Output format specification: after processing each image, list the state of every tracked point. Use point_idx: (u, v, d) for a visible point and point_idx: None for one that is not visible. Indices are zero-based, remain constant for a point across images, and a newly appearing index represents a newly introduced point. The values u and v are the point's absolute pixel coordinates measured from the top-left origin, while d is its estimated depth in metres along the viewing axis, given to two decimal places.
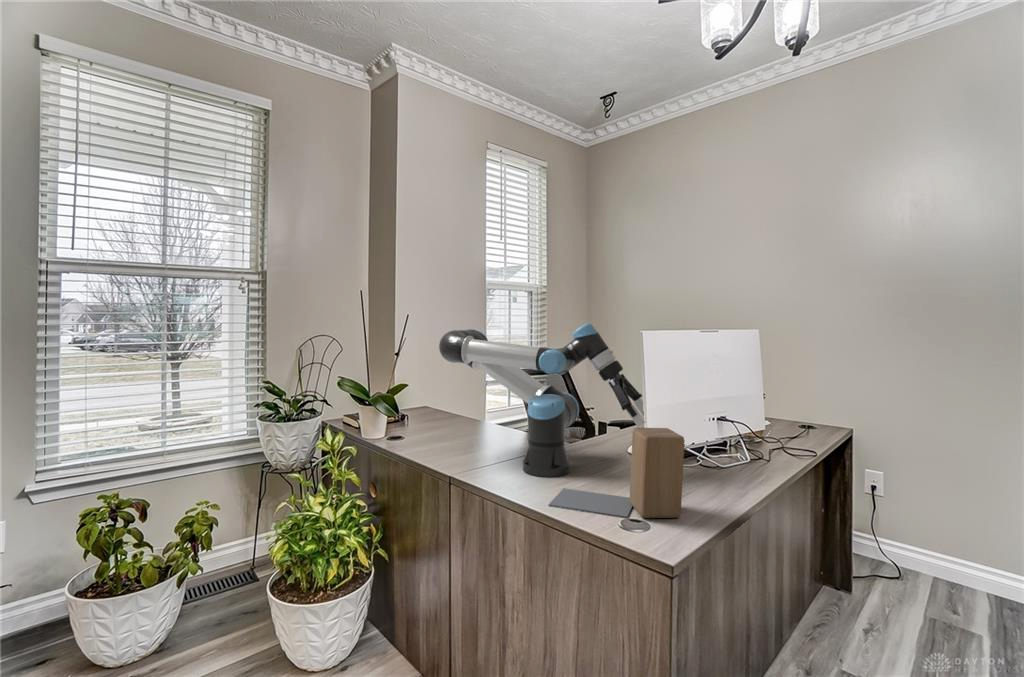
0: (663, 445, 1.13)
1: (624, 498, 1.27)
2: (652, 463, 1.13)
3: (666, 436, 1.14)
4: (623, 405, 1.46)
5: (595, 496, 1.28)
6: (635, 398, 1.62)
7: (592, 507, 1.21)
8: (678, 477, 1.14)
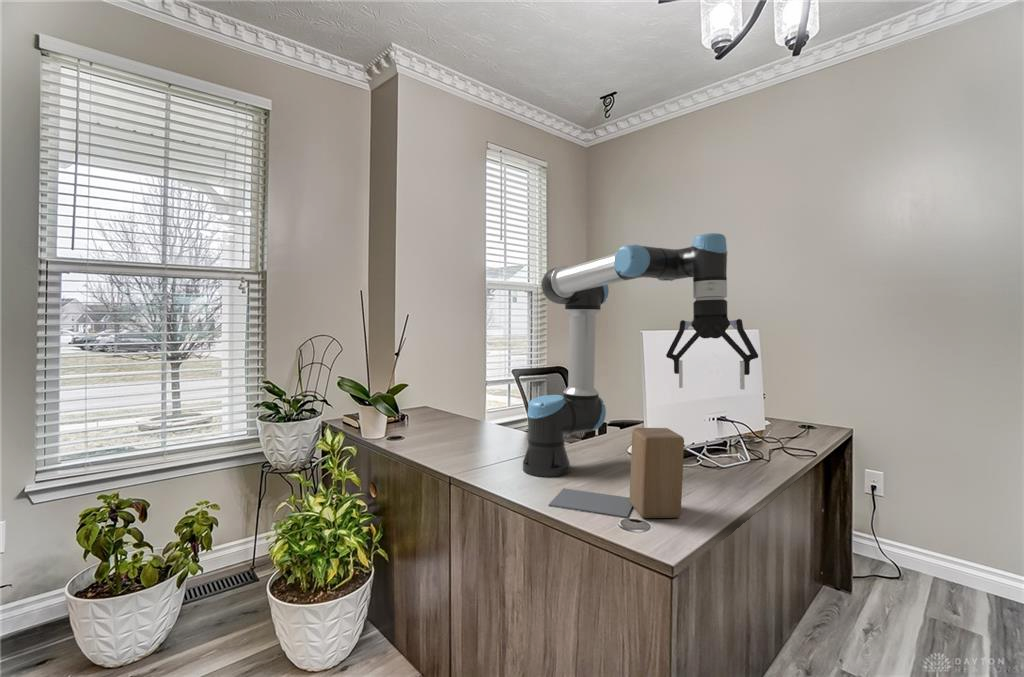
0: (663, 445, 1.13)
1: (624, 498, 1.27)
2: (652, 464, 1.13)
3: (666, 436, 1.14)
4: None
5: (595, 496, 1.28)
6: None
7: (592, 507, 1.21)
8: (678, 477, 1.14)
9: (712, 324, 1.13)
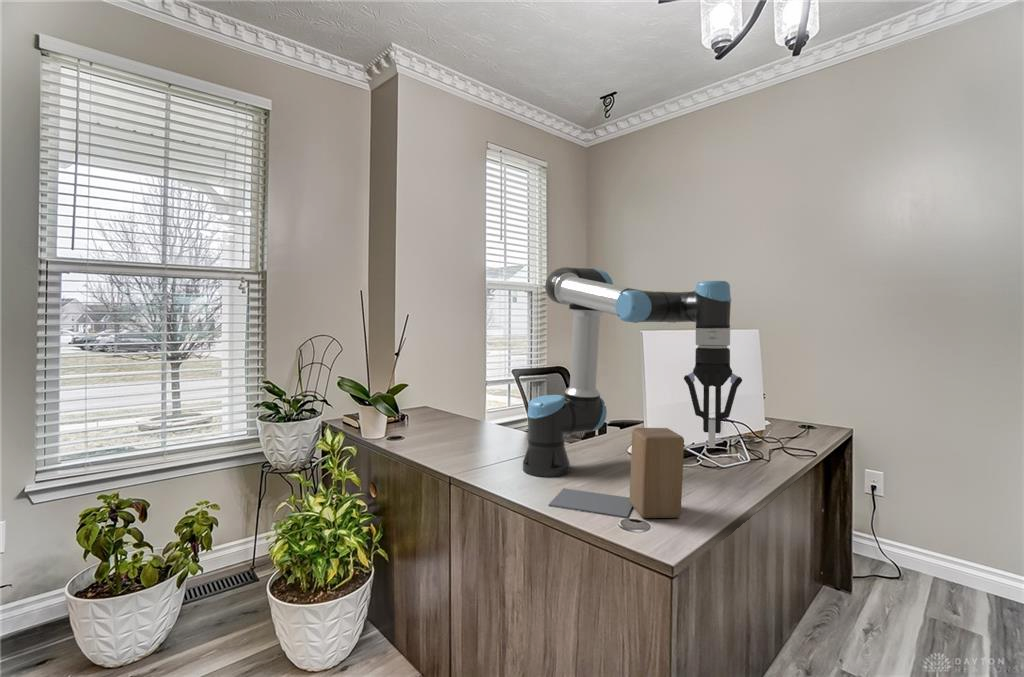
0: (663, 445, 1.13)
1: (624, 498, 1.27)
2: (652, 464, 1.13)
3: (666, 436, 1.14)
4: None
5: (595, 496, 1.28)
6: None
7: (592, 507, 1.21)
8: (678, 477, 1.14)
9: (716, 365, 1.11)
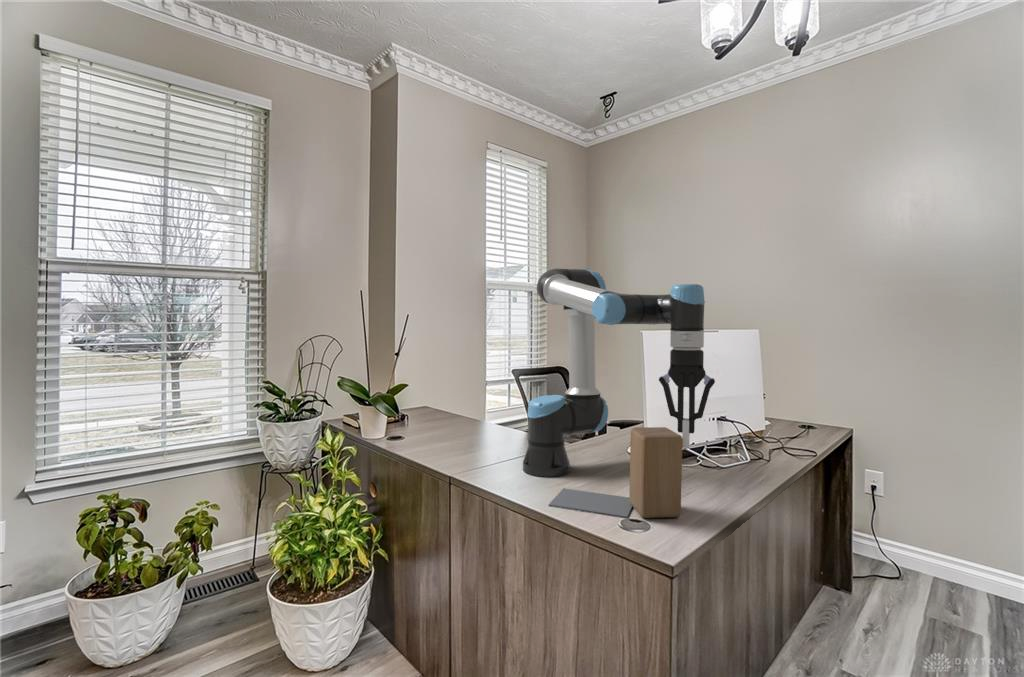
0: (661, 445, 1.13)
1: (624, 498, 1.27)
2: (651, 463, 1.13)
3: (664, 436, 1.14)
4: None
5: (595, 496, 1.28)
6: None
7: (592, 507, 1.21)
8: (677, 476, 1.14)
9: (690, 367, 1.14)
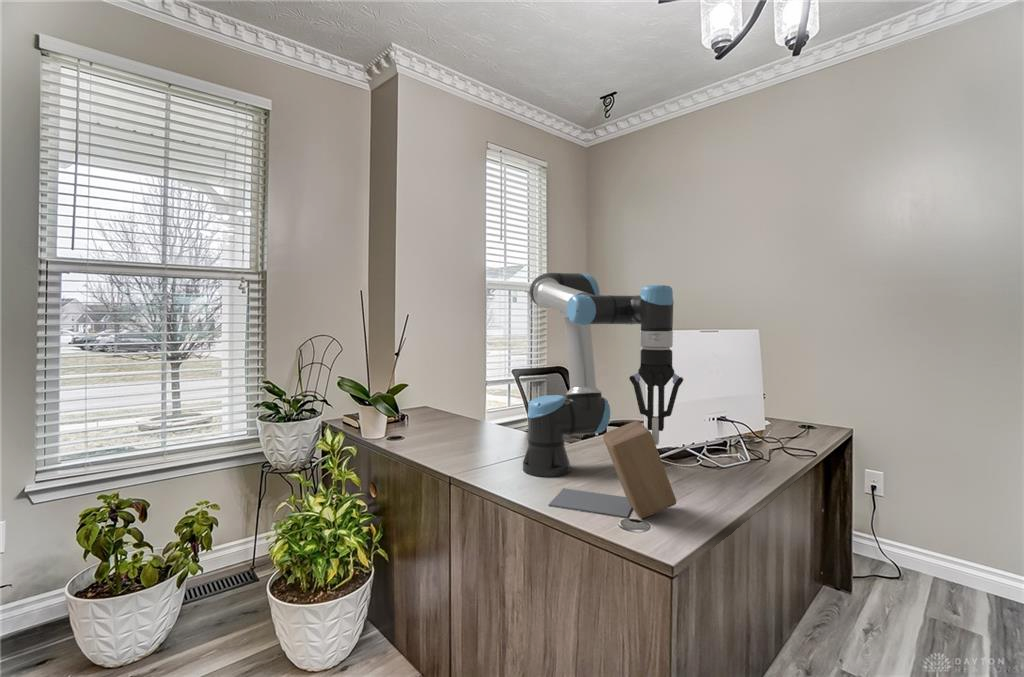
0: (632, 446, 1.12)
1: (624, 498, 1.27)
2: (628, 467, 1.12)
3: (631, 436, 1.12)
4: None
5: (595, 496, 1.28)
6: None
7: (592, 507, 1.21)
8: (659, 469, 1.13)
9: (659, 366, 1.17)
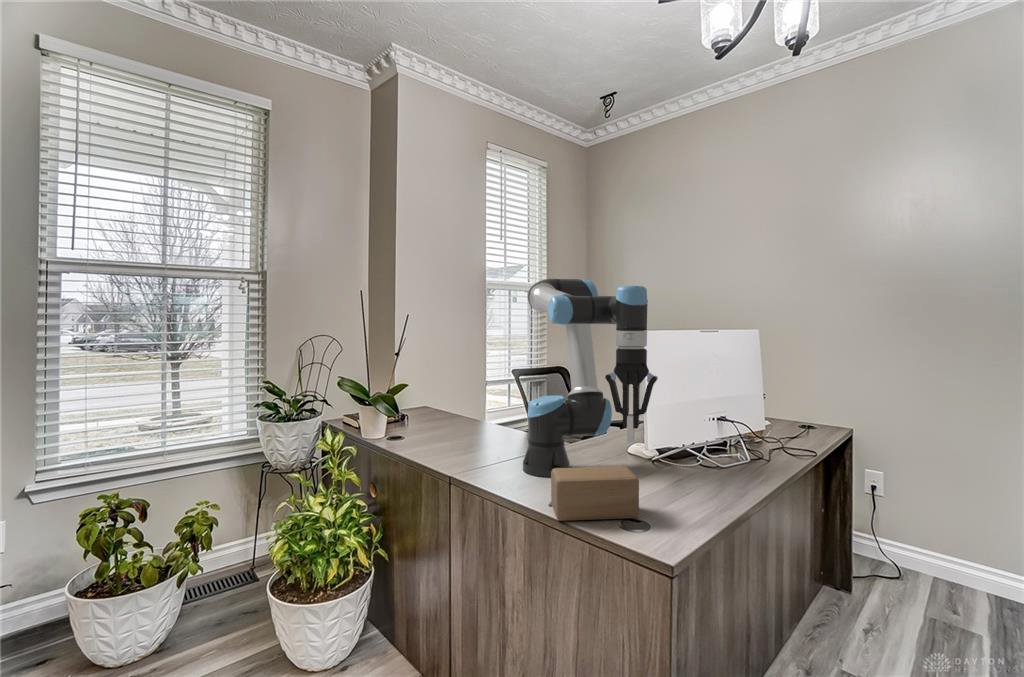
0: (565, 503, 1.12)
1: None
2: (584, 513, 1.13)
3: (556, 499, 1.13)
4: None
5: None
6: None
7: None
8: (597, 485, 1.13)
9: (634, 365, 1.19)
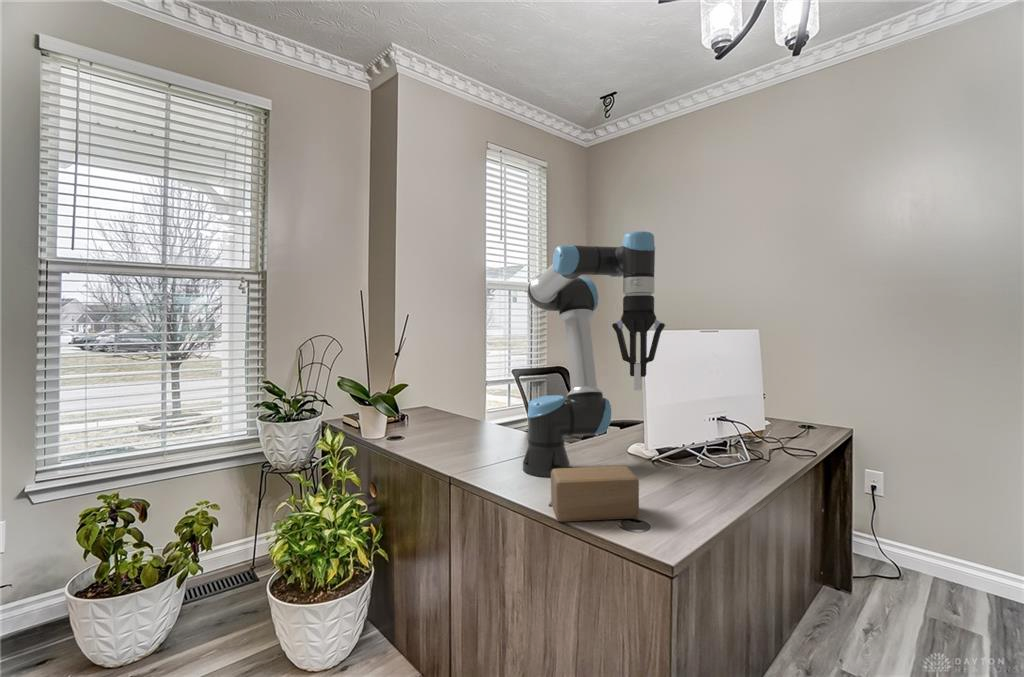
0: (565, 504, 1.12)
1: None
2: (584, 513, 1.13)
3: (556, 500, 1.13)
4: None
5: None
6: None
7: None
8: (597, 486, 1.12)
9: (641, 312, 1.18)
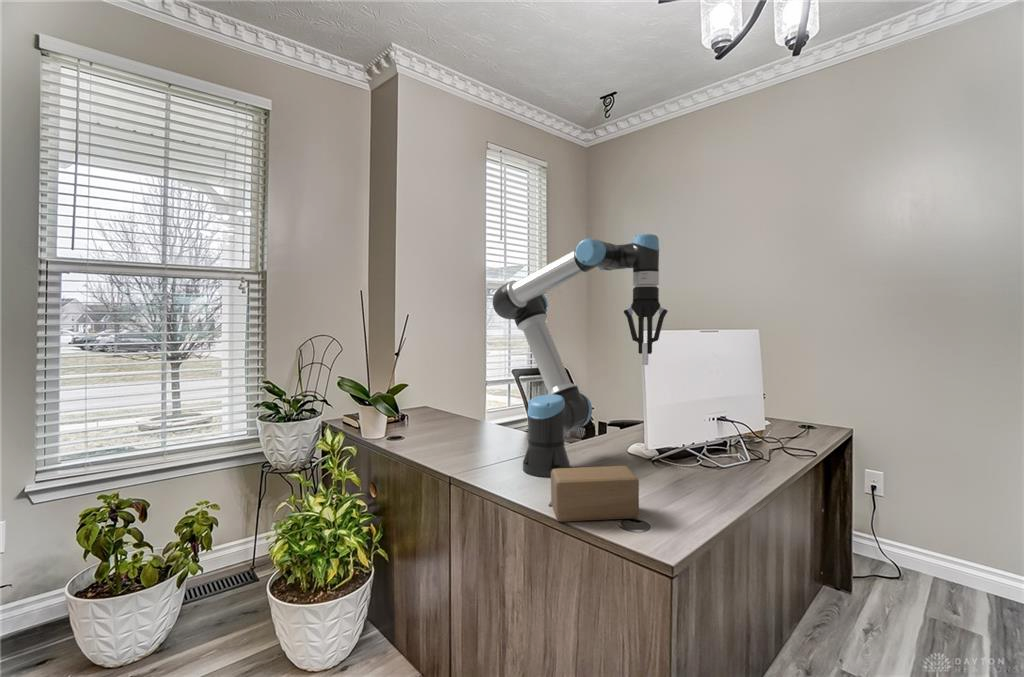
0: (565, 504, 1.12)
1: None
2: (584, 513, 1.13)
3: (556, 500, 1.13)
4: None
5: None
6: None
7: None
8: (597, 486, 1.12)
9: (648, 300, 1.43)
